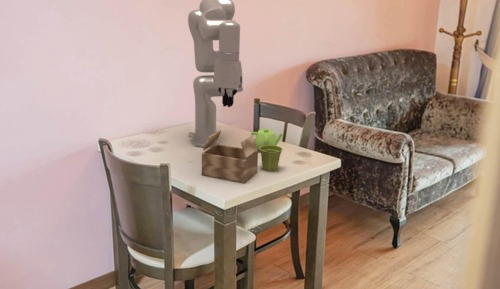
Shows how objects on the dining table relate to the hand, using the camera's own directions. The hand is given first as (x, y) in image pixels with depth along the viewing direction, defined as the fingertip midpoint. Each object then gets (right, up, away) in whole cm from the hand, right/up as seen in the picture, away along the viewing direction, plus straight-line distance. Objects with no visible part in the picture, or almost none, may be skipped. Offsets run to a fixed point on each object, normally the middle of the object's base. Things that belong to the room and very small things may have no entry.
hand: (227, 105), depth 185 cm
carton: (0, -26, +8) cm, 27 cm away
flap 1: (-6, -13, +7) cm, 16 cm away
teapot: (+16, -17, +38) cm, 45 cm away
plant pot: (+16, -24, +15) cm, 33 cm away
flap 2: (+8, -15, +1) cm, 17 cm away
